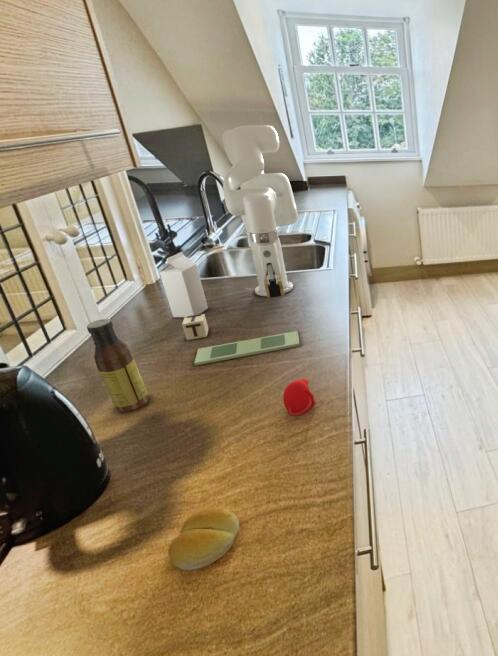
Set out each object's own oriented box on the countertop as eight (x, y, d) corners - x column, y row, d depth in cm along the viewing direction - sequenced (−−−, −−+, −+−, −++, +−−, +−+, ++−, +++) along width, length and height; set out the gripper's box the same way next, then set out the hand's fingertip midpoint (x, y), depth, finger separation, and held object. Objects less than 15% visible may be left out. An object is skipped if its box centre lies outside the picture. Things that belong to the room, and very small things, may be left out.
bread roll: (160, 574, 61) (151, 553, 59) (196, 518, 69) (189, 499, 67) (220, 574, 60) (212, 553, 59) (249, 518, 69) (243, 498, 67)
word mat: (198, 351, 119) (198, 348, 118) (297, 333, 126) (297, 330, 126) (194, 365, 112) (193, 362, 111) (299, 346, 119) (299, 343, 119)
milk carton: (208, 308, 145) (193, 251, 137) (194, 318, 138) (178, 258, 131) (187, 308, 146) (171, 251, 138) (173, 317, 139) (155, 258, 132)
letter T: (189, 332, 129) (184, 316, 127) (208, 329, 131) (204, 313, 128) (186, 340, 125) (181, 323, 122) (206, 337, 126) (202, 320, 124)
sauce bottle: (140, 393, 101) (111, 312, 93) (155, 401, 98) (127, 318, 90) (108, 409, 96) (74, 325, 88) (123, 417, 93) (90, 331, 85)
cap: (316, 417, 91) (312, 392, 89) (285, 423, 90) (280, 398, 87) (315, 395, 98) (311, 371, 96) (287, 400, 97) (281, 376, 94)
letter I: (267, 291, 142) (263, 276, 140) (283, 289, 144) (280, 274, 141) (267, 298, 138) (264, 282, 135) (284, 295, 139) (281, 280, 137)
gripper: (278, 243, 127) (289, 301, 134) (276, 227, 141) (286, 281, 149) (250, 246, 124) (262, 305, 132) (251, 230, 139) (262, 284, 147)
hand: (275, 292), depth 140 cm, fingers closed on letter I, 5 cm apart
